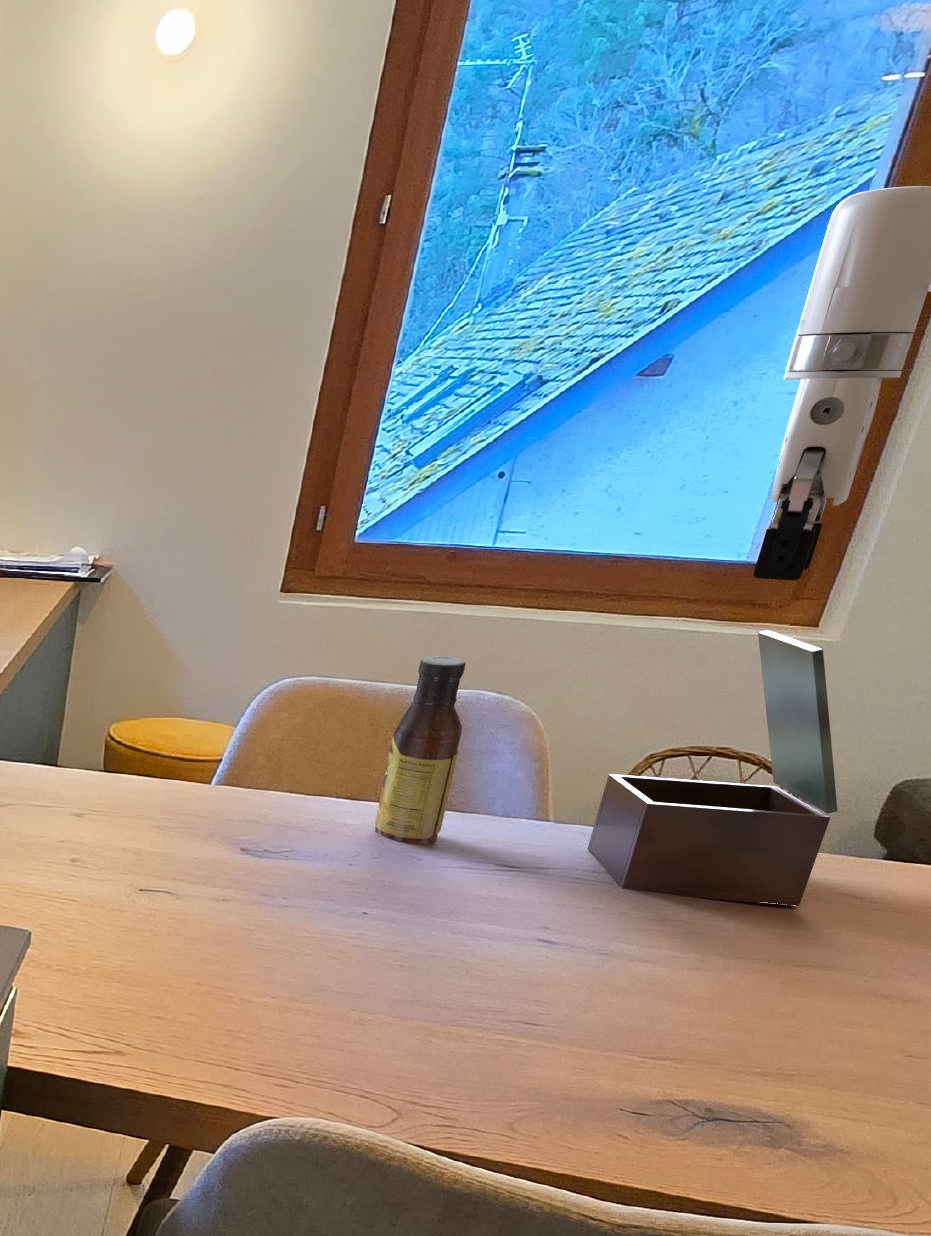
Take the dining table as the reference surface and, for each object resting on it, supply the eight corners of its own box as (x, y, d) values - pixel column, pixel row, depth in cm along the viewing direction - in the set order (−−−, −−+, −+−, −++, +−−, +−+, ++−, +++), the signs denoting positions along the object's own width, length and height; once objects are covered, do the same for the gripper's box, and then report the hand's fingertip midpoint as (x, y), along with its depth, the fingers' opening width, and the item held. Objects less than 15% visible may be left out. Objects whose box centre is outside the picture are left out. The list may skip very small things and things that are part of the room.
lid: (812, 651, 120) (823, 649, 120) (757, 632, 130) (767, 629, 130) (827, 813, 124) (837, 811, 124) (773, 782, 134) (783, 780, 134)
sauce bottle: (397, 829, 149) (439, 649, 140) (449, 847, 144) (496, 660, 135) (356, 839, 146) (396, 656, 138) (407, 857, 141) (453, 668, 133)
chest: (621, 890, 132) (647, 803, 128) (585, 855, 142) (608, 774, 138) (798, 907, 128) (830, 817, 124) (748, 869, 138) (776, 786, 134)
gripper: (903, 356, 103) (829, 586, 110) (908, 361, 115) (841, 568, 122) (780, 358, 108) (716, 579, 114) (796, 362, 120) (738, 562, 126)
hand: (780, 573), depth 118 cm, fingers open, 9 cm apart
